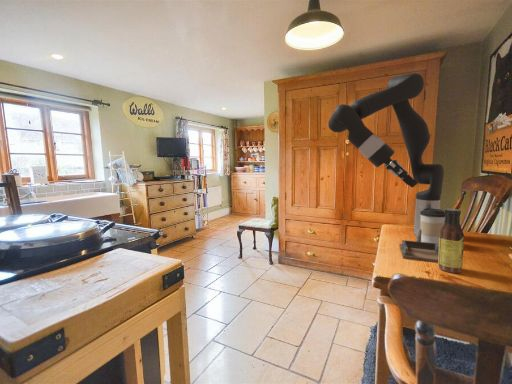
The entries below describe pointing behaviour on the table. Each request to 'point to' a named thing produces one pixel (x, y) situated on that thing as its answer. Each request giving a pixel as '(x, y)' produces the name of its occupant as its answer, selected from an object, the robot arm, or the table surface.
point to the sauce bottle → (451, 242)
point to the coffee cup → (431, 224)
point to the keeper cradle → (419, 249)
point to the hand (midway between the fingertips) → (412, 184)
